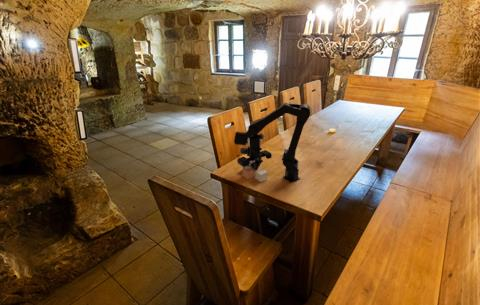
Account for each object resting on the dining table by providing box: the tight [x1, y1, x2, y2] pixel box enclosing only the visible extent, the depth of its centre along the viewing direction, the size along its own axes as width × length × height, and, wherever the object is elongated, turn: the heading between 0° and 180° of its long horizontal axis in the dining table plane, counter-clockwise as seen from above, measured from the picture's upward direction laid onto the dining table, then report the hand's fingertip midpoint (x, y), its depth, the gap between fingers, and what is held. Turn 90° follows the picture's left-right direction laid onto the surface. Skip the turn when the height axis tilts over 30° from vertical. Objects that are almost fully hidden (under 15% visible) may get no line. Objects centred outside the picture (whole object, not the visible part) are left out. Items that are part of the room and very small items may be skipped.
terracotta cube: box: [242, 166, 255, 180], centre depth 137 cm, size 4×4×4 cm
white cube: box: [254, 168, 268, 183], centre depth 135 cm, size 4×4×4 cm
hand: (254, 172), depth 140 cm, fingers closed
